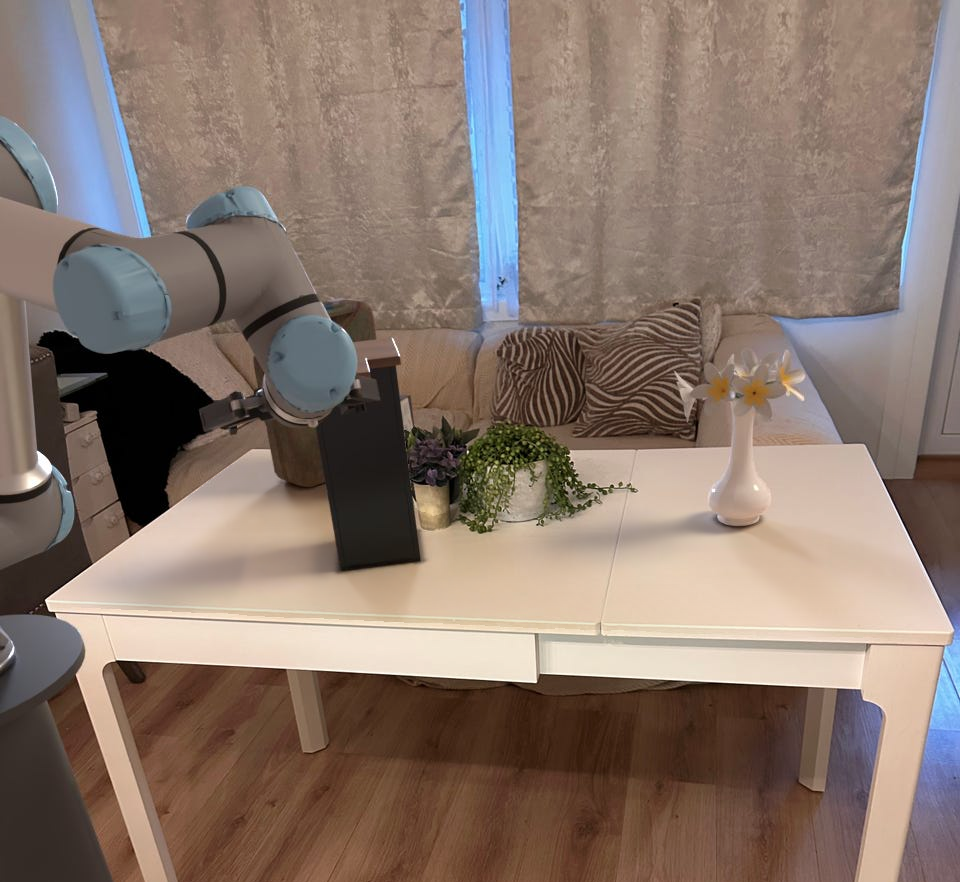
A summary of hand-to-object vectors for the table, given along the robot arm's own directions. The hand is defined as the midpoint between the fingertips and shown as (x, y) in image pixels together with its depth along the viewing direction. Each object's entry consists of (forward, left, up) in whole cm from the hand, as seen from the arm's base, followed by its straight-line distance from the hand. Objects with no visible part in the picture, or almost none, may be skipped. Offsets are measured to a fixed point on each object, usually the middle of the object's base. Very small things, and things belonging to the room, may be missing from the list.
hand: (287, 413), depth 115 cm
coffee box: (+42, +27, -28) cm, 57 cm away
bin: (+20, +9, -28) cm, 35 cm away
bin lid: (+17, +6, 0) cm, 18 cm away
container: (+44, +44, -28) cm, 68 cm away
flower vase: (+54, -34, -28) cm, 70 cm away
